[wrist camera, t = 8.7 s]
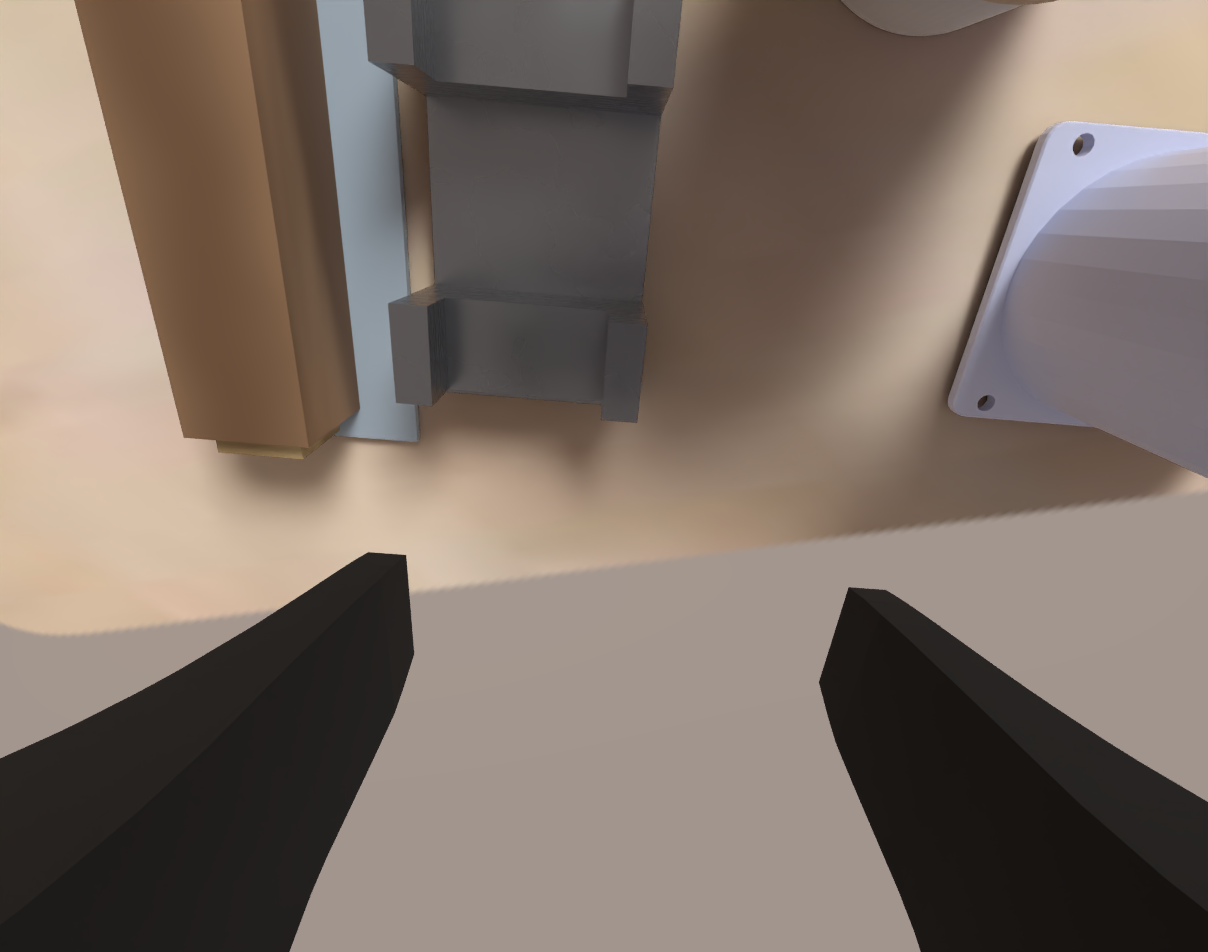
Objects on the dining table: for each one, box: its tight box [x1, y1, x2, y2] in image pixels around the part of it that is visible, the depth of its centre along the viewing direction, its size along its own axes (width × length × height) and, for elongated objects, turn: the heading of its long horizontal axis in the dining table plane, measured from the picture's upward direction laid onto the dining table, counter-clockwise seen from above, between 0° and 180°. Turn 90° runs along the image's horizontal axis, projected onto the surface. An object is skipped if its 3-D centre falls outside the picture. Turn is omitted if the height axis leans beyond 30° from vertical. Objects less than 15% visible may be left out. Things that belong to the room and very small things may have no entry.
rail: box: [74, 0, 360, 459], centre depth 15 cm, size 3×13×3 cm, turn 176°
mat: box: [316, 0, 420, 442], centre depth 16 cm, size 7×13×1 cm, turn 176°
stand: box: [363, 0, 682, 423], centre depth 14 cm, size 6×11×4 cm, turn 175°
